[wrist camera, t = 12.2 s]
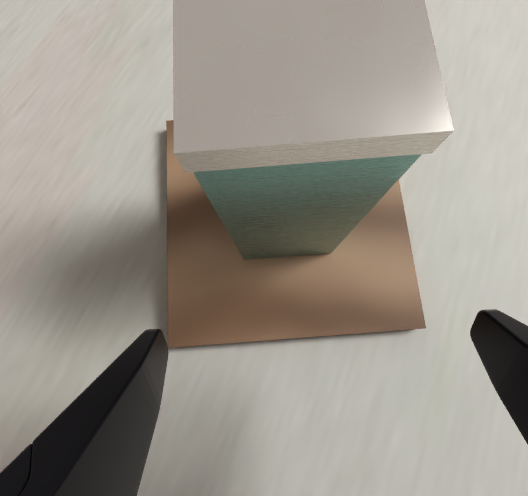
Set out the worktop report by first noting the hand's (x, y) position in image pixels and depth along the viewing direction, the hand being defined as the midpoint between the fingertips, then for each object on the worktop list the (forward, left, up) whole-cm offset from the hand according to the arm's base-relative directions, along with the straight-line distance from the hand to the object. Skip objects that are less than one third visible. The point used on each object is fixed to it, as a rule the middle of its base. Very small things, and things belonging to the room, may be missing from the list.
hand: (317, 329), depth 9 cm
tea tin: (+6, 0, -8) cm, 10 cm away
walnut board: (+6, 0, -10) cm, 11 cm away
